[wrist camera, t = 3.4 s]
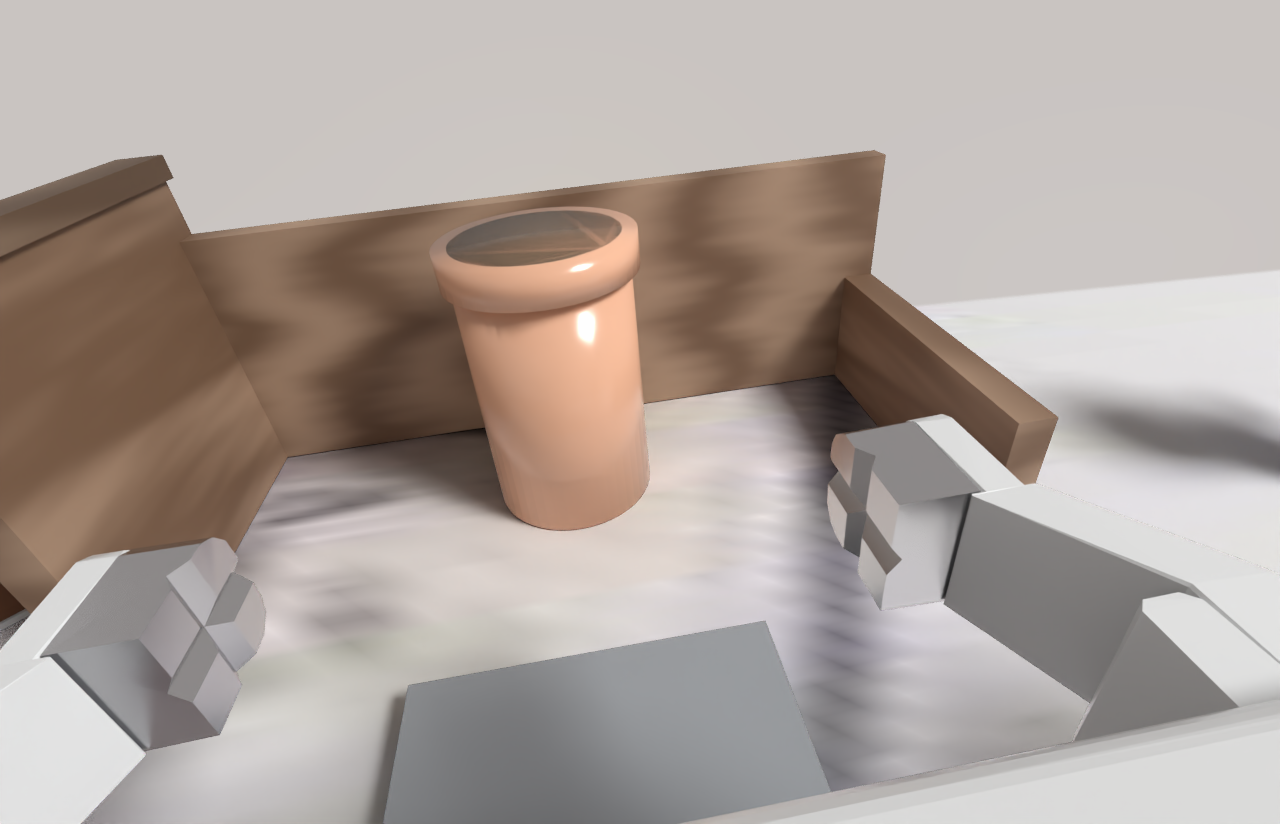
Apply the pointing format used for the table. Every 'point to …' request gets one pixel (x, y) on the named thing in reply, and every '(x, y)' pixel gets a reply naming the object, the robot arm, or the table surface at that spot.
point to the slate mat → (608, 737)
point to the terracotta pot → (553, 357)
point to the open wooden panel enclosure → (404, 339)
